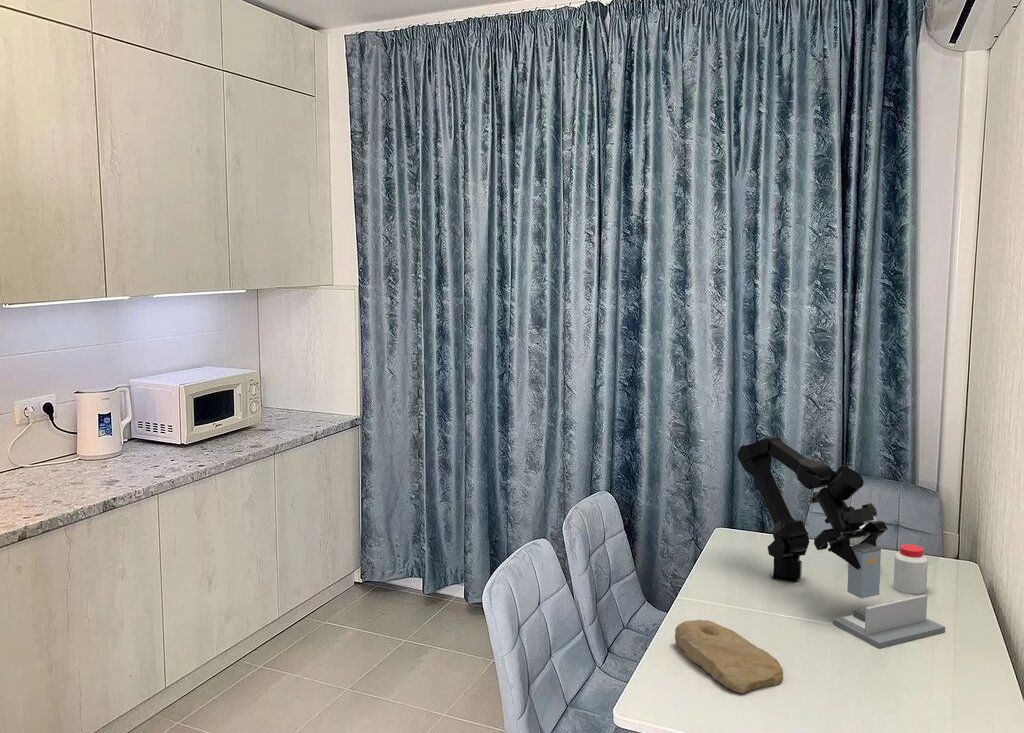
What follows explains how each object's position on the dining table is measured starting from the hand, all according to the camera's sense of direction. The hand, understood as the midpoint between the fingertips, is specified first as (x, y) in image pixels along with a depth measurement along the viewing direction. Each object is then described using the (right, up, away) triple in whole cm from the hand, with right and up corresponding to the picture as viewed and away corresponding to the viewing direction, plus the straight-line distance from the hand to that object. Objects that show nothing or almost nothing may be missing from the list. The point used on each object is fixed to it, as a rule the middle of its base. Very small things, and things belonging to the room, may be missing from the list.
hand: (868, 566), depth 202 cm
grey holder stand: (+3, -13, -4) cm, 14 cm away
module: (0, -7, +2) cm, 7 cm away
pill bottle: (+19, -10, +19) cm, 28 cm away
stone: (-39, -16, -21) cm, 48 cm away
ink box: (+12, -9, +32) cm, 35 cm away
